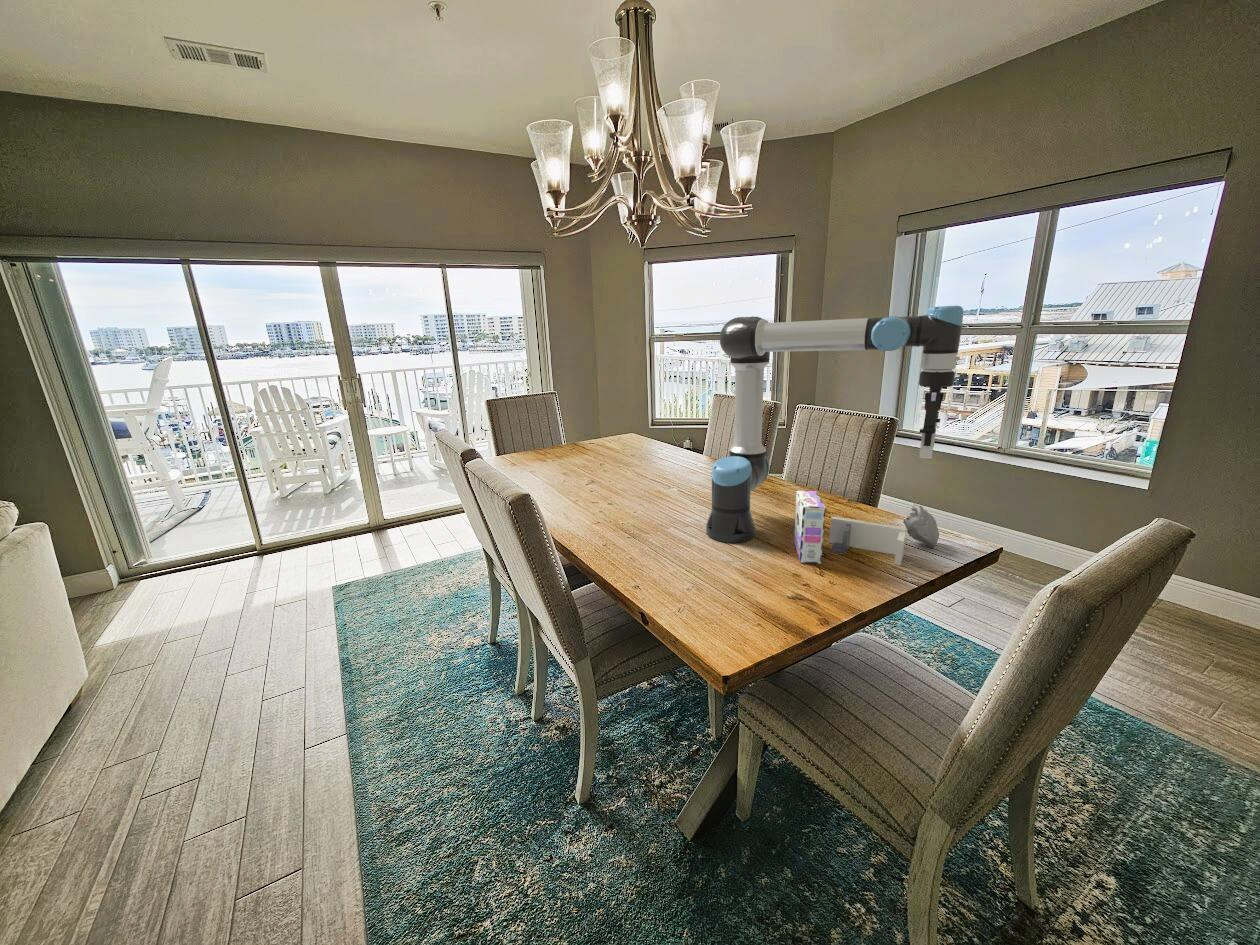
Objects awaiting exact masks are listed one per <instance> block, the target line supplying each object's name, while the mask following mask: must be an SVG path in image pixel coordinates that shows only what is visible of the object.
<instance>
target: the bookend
mask: <svg viewBox="0 0 1260 945" xmlns="http://www.w3.org/2000/svg"><path fill="white" fill-rule="evenodd" d="M850 533H851V524H848V523H847V525H846V527H845V529H844V531H843V542H842V543H837V542H834V544H833V543H832V546H831V548H830V550H829V552H831V553H833V554H839V555H846V554H847V552H848V550H849V548H850V546H849V544H850Z"/></svg>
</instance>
